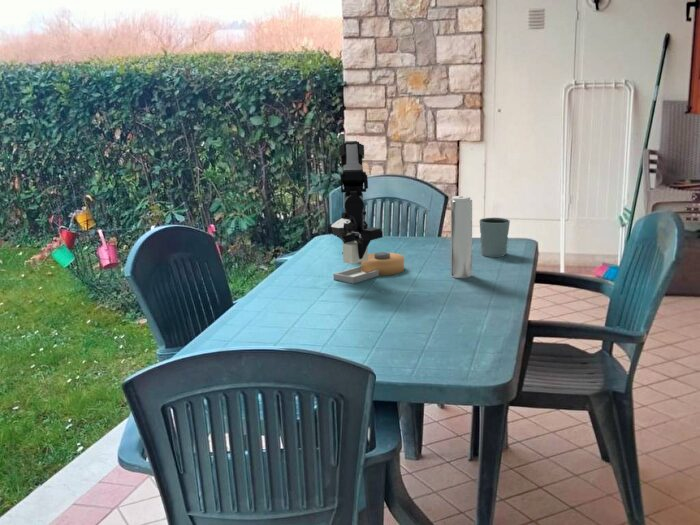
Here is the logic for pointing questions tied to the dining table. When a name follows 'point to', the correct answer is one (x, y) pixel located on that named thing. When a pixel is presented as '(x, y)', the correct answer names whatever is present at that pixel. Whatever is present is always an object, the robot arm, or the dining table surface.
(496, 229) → the grey plant pot
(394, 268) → the orange and grey base
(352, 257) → the cream rectangular block
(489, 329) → the dining table surface
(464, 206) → the white tall cylinder
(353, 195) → the robot arm
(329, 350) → the dining table surface
